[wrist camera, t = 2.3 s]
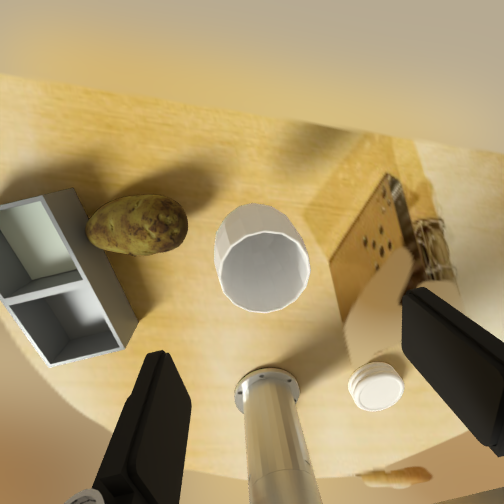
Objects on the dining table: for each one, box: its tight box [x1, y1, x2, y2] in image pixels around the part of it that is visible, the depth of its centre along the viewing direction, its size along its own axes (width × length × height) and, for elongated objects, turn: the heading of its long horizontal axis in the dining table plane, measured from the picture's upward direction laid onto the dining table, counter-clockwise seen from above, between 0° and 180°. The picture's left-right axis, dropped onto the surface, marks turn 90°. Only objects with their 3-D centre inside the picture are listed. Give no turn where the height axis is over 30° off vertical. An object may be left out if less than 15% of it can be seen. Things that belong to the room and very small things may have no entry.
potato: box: [85, 194, 188, 256], centre depth 32 cm, size 8×13×8 cm, turn 80°
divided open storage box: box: [0, 188, 139, 368], centre depth 34 cm, size 22×11×6 cm, turn 12°
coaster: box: [348, 362, 404, 411], centre depth 50 cm, size 10×10×4 cm
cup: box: [214, 203, 311, 313], centre depth 26 cm, size 7×7×21 cm
